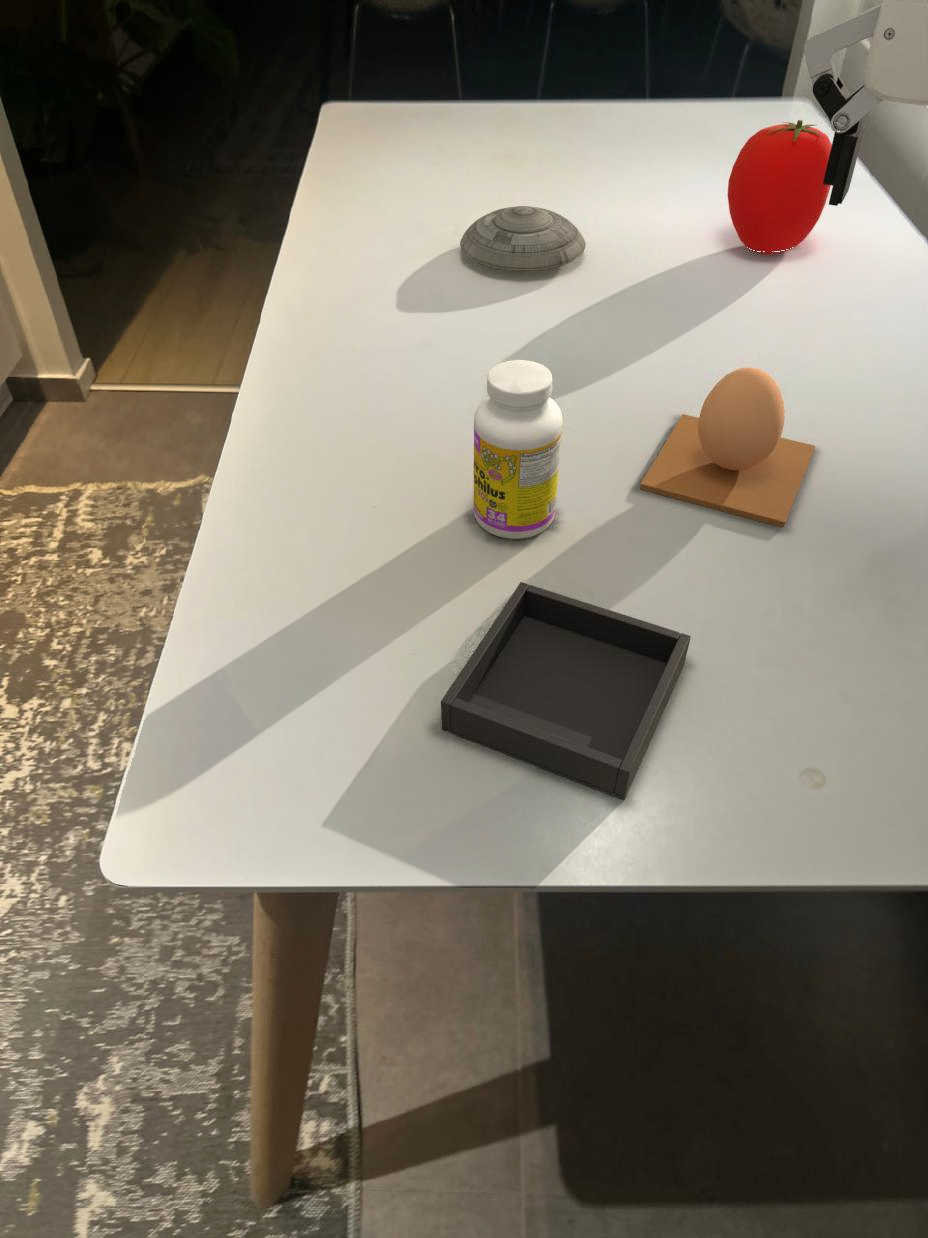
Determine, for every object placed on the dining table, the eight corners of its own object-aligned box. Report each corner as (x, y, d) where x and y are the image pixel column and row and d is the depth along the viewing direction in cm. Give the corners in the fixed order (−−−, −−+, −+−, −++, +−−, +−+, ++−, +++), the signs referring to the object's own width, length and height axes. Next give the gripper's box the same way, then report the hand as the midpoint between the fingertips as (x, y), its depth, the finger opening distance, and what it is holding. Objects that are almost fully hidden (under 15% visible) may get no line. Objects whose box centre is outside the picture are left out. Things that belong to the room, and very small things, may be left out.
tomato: (789, 276, 106) (821, 144, 97) (700, 252, 111) (722, 124, 102) (831, 240, 114) (864, 114, 104) (745, 219, 119) (770, 97, 109)
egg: (674, 457, 80) (691, 364, 73) (732, 434, 82) (753, 341, 76) (729, 497, 76) (752, 402, 69) (788, 471, 78) (816, 377, 72)
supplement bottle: (460, 504, 76) (458, 363, 67) (530, 484, 78) (538, 344, 69) (496, 552, 72) (498, 408, 63) (570, 529, 74) (583, 386, 65)
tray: (684, 664, 63) (691, 635, 61) (624, 800, 55) (629, 772, 53) (519, 609, 67) (520, 581, 65) (441, 729, 59) (440, 701, 57)
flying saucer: (511, 293, 104) (513, 245, 100) (435, 250, 113) (434, 204, 109) (610, 259, 110) (615, 212, 106) (531, 220, 119) (533, 176, 115)
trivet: (813, 451, 81) (815, 445, 81) (783, 528, 74) (785, 522, 73) (681, 419, 85) (682, 413, 85) (639, 489, 77) (640, 483, 77)
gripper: (1241, -166, 43) (1081, 209, 55) (860, -169, 49) (788, 172, 61) (1260, -154, 39) (1080, 255, 50) (835, -158, 44) (762, 209, 56)
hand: (920, 209), depth 56 cm, fingers open, 9 cm apart
